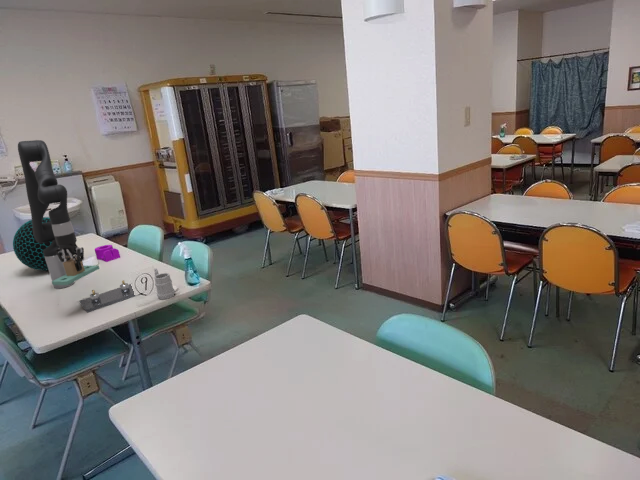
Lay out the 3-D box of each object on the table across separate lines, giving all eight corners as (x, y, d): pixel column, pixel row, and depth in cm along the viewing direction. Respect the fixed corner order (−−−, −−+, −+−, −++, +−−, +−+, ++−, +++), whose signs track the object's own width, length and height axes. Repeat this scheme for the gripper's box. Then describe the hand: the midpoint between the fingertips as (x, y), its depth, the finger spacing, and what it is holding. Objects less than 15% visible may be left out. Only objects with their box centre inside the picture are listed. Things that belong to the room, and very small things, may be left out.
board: (85, 268, 204) (80, 253, 202) (99, 268, 201) (95, 252, 199) (52, 284, 188) (47, 268, 185) (67, 285, 185) (62, 268, 183)
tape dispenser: (94, 258, 270) (91, 248, 269) (110, 253, 277) (108, 243, 275) (105, 262, 260) (102, 252, 258) (121, 257, 266) (119, 247, 264)
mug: (162, 301, 195) (156, 275, 191) (151, 295, 203) (145, 270, 200) (178, 295, 200) (172, 270, 196) (167, 289, 208) (161, 265, 205)
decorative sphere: (83, 255, 278) (70, 208, 270) (77, 270, 251) (61, 218, 242) (29, 266, 269) (13, 218, 260) (16, 282, 242) (-2, 229, 233)
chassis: (80, 303, 203) (76, 290, 201) (133, 286, 217) (130, 273, 215) (87, 312, 192) (83, 298, 190) (143, 293, 206) (139, 280, 204)
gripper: (84, 229, 190) (94, 267, 195) (58, 230, 194) (69, 267, 199) (70, 235, 183) (81, 274, 188) (43, 235, 187) (55, 273, 193)
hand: (75, 270), depth 194 cm, fingers closed on board, 4 cm apart
